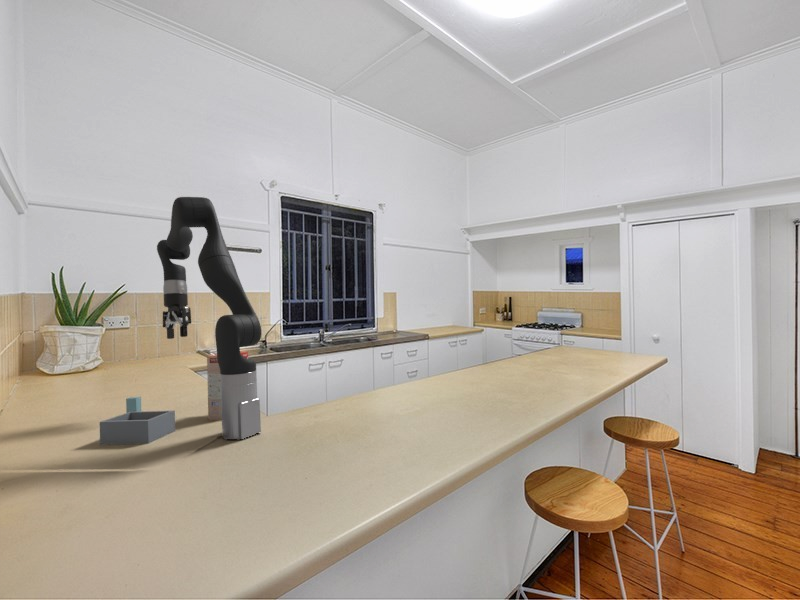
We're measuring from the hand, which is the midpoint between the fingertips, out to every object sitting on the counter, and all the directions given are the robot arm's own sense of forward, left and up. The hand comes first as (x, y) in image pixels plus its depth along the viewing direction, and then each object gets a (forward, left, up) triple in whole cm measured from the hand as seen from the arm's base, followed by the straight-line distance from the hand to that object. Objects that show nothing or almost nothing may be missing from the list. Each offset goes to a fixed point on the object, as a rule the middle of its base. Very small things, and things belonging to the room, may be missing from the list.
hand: (177, 337), depth 134 cm
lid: (-5, +13, -27) cm, 30 cm away
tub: (-21, +23, -27) cm, 41 cm away
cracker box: (-24, -3, -27) cm, 36 cm away
